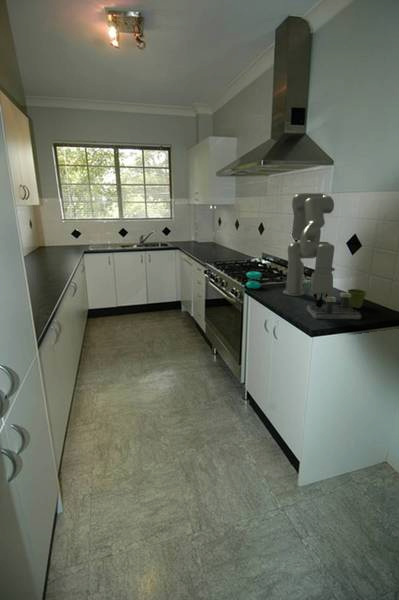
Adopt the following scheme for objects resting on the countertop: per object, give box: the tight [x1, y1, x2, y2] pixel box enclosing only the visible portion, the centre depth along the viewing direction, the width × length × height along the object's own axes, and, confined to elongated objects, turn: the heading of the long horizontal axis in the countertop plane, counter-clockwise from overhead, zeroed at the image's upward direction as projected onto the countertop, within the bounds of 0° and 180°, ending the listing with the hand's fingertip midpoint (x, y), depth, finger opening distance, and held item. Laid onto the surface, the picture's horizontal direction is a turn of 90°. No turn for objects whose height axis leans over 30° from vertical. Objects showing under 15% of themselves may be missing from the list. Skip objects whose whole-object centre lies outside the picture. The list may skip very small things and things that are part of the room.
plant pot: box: [347, 288, 368, 309], centre depth 171 cm, size 9×9×9 cm
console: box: [306, 304, 362, 320], centre depth 160 cm, size 14×22×3 cm, turn 88°
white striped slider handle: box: [339, 292, 352, 308], centre depth 162 cm, size 3×4×8 cm
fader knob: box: [323, 296, 337, 313], centre depth 154 cm, size 3×4×8 cm
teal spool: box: [245, 271, 263, 290], centre depth 210 cm, size 10×10×10 cm
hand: (318, 306), depth 155 cm, fingers closed
